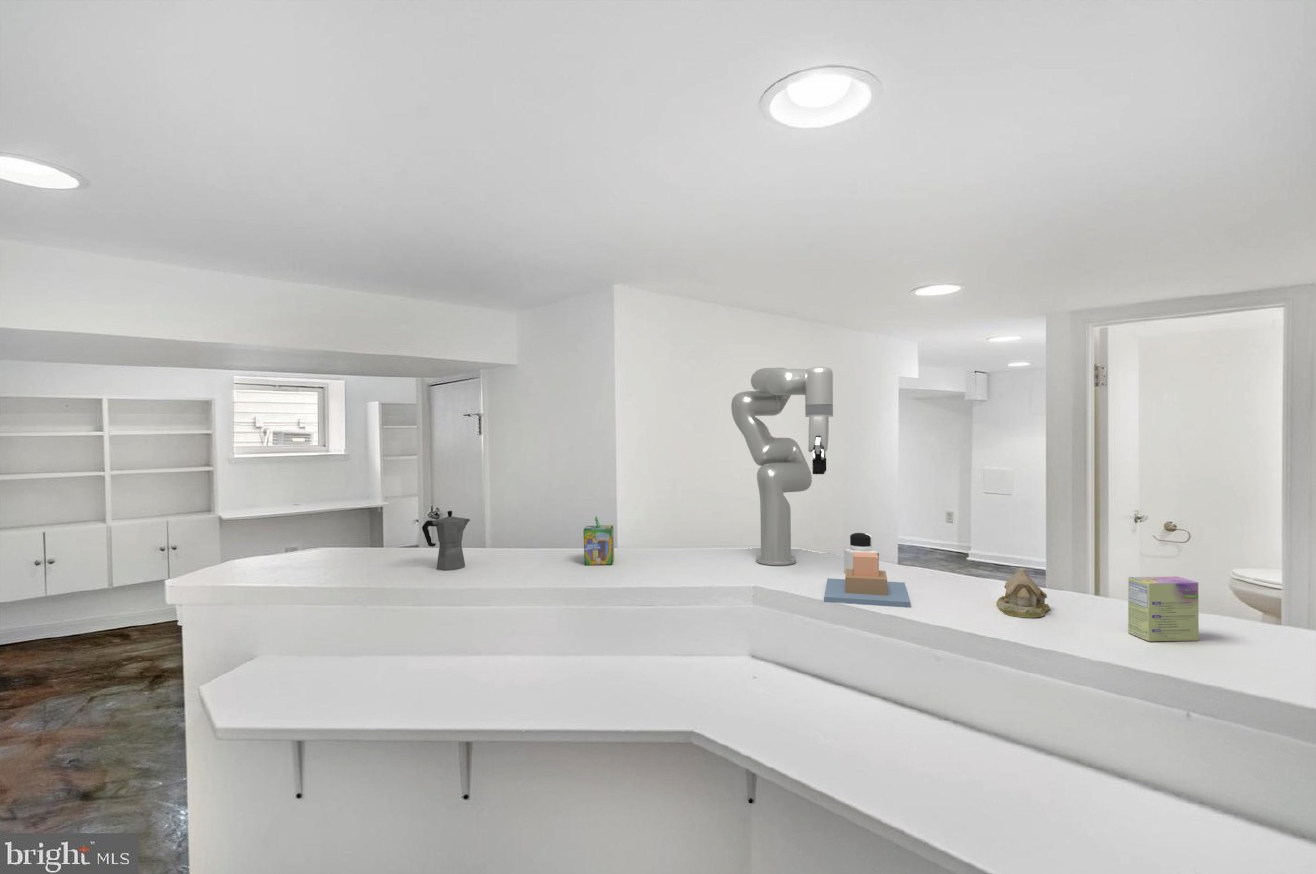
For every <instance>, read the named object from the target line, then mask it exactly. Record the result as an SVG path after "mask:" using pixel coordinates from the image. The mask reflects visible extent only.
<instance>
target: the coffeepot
mask: <svg viewBox="0 0 1316 874" xmlns="http://www.w3.org/2000/svg"><path fill="white" fill-rule="evenodd" d="M469 522H471V519H470V518H464V517H457V516H453V511H452V510H448V511H447V516H446V517H443V518H442V517H441V518H439V519H434V520H432V519H431V520H426V521H425V522H424V523H423V525H422V527H421V530H422V532H423V535H424V538H425V540H426V543H427V545H428V547H435V546H436V545H437V544H436V543H435V542H432V537H431V536H430V530H429V527H435V529H436V534H437V539H438V543H439V548H438V553H437V554H438V556H437V560H436V561H437V563H436V569H437V570H438V569H439V571H455V570H456V571H457V570H461V569H463V568H465V567H466V562H465V556H464V552H463V545H462V541H463V536H464V530H465V529H466V527H467V525H468V524H469Z"/></svg>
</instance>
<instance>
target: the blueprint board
mask: <svg viewBox="0 0 1316 874" xmlns="http://www.w3.org/2000/svg"><path fill="white" fill-rule="evenodd" d="M844 574H845V577H844V578H832V577H831V578H827V579H826V586H825V591H824V596H823V602H825V603H837V602H846V603H845V604H852V603H856V604H855V605H870V606H883V607H884V606H886V607H898V608H899V607H900V608H911V600H910V596H909V593H908V590H907V585H906V582H902V581H901V582H899V581H888V577H887V573H886V570H880V569H879V577H864V576H854V574H853V569H846V573H844Z"/></svg>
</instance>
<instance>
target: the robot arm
mask: <svg viewBox="0 0 1316 874" xmlns="http://www.w3.org/2000/svg"><path fill="white" fill-rule="evenodd" d="M833 379H834V375H833V369H832V368H830V367H828V366H818V367H817V366H815V367H808V368H787V367H786V368H785V367H764V368H759V369H757V370H755V372H753V374H752V375H751V378H750V384H751V385H750V386H751V387H752V389H753V390H749V391H748V390H747V391H740V392H738V393H736V394H734V396H733V397H732V400H731V405H730V407H731V408H730V409H731V415H732V419H733V421H734V423H735V425H736V427H737V428H738V430H739V431H740V433H741V434H742V436H743V438H744V440H745V442H746V445H747V447H748V451H749V453H750V455H751V457H752V459H753V462H754V463H755V464H756V465H757V466H759V468H758V470H757V472H756V481H757V486H758V492H759V503H760V504H759V507H760V508H759V512H760V513H759V514H760V555H757V556H756V557H755V562H757V563H759V564H761V565H768V566H789V565H794V564H795V563H797V558H796V557H795V556H794V555H793V556H792V546H791V545H792V533H791V532H792V531H791V530H792V529H791V523H792V522H791V520H792V519H791V518H792V516H791V514H792V513H791V510H792V509H791V504H790V502H789V501H788V499H787V497H786V496H785V494H784V493H797V492H799V493H801V492H805V491H807V490H808V489H809V488H810V487H811V485H812V482H813V478H812V477H813V476H812V474H813V475H825V473H826V472H827V457H826V452H827V451H828V449H829V448H828V445H829V432H830V431H829V428H830V427H829V426H830V425H829V423H830V421H829V419H830V418H832V417H834V402H833V401H834V392H833V391H834V389H833V388H834V384H833V383H834V382H833V381H834V380H833ZM792 396H804V399H805V400H804V401H805V402H804V403H805V404H804V408H805V409H804V410H805V411H804V412H805V413H804V414H805V418H808V444H807V445H808V448H807V449H808V452H809V453H812V456H813V457H812V462H811V463H812V465H811V466H812V472H811V469H810V466H809V464H808V462H807V460H806V457H805V456H804V454H803V452H802V450H801V447H800V445H799V443H798V442H797V441H796V440H794V439H793V438H791V437H774V436H772V435H771V431H770V430H769V428H768V426H767V425H766V424H765V423H764V421H762V420H760V419H759V417H761V416H762V417H765V416H766V417H767V416H768V417H769V416H770V417H773V416H777V415H780V414H781V413H782V411H783V409H785V407H786V405H787V404H788V401H789V400H790V398H791V397H792ZM757 416H759V417H757Z"/></svg>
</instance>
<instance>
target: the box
mask: <svg viewBox="0 0 1316 874" xmlns="http://www.w3.org/2000/svg"><path fill="white" fill-rule="evenodd" d="M1127 589H1128V590H1127V593H1128V594H1127V597H1128V598H1127V621H1128V623H1127V625H1128V626H1127V627H1128V628H1127V632H1128V634H1129V635H1132V636H1134V637H1137V638H1139V639H1141V640H1144V641H1147V642H1172V641H1173V642H1187V641H1188V642H1189V641H1190V642H1192V641H1194V642H1196V641H1197V642H1198V641H1199V636H1200V635H1199V626H1200V625H1199V582H1198V581H1195V580H1192V579H1187V578H1184V577H1180V576H1128V577H1127Z"/></svg>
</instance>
